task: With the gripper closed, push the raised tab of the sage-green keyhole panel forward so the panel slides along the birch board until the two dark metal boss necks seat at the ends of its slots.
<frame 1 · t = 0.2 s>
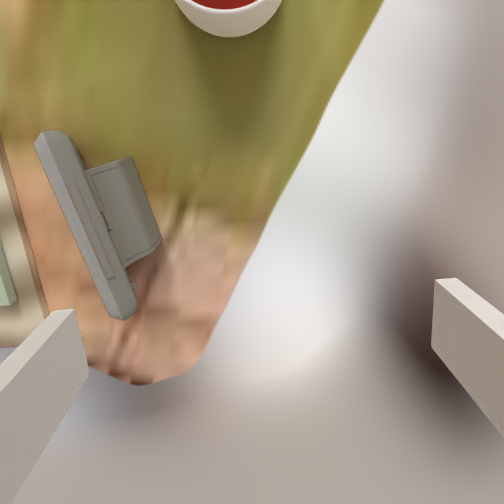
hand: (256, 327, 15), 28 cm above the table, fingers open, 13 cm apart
digital clock: (109, 209, 43), on the table
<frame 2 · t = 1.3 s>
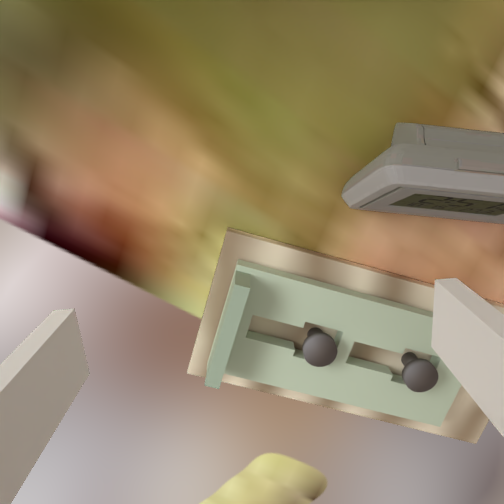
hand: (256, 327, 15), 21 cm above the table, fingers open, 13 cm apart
board: (359, 340, 39), on the table
panel: (347, 356, 35), point 4 cm above the table, slide at 0.0 cm
digital clock: (436, 180, 35), on the table
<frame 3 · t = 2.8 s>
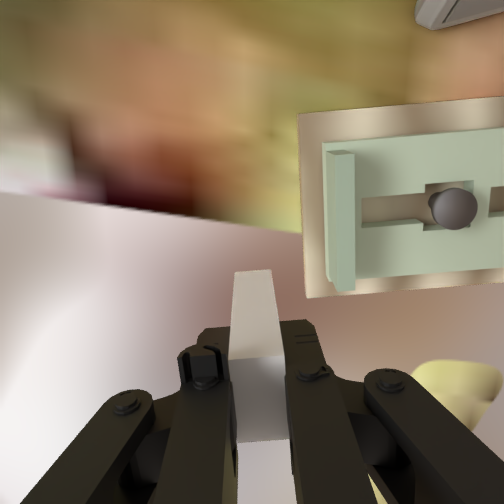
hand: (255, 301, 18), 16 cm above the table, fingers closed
board: (489, 193, 32), on the table
panel: (490, 205, 29), point 4 cm above the table, slide at 0.0 cm
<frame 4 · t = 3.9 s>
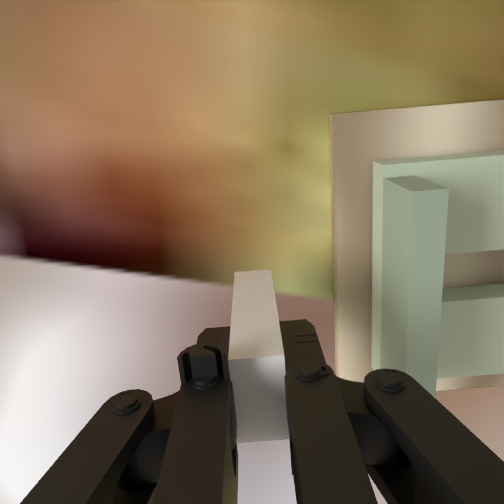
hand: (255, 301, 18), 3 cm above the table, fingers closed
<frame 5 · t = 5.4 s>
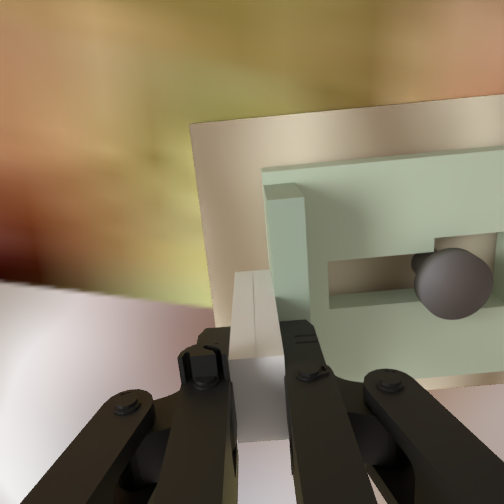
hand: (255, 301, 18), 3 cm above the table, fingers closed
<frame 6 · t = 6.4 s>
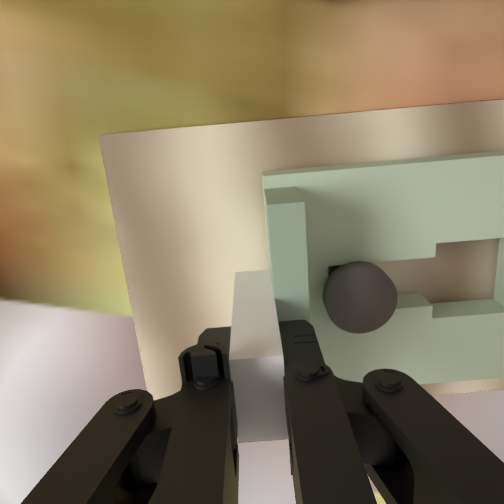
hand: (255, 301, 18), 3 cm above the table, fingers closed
board: (432, 257, 20), on the table
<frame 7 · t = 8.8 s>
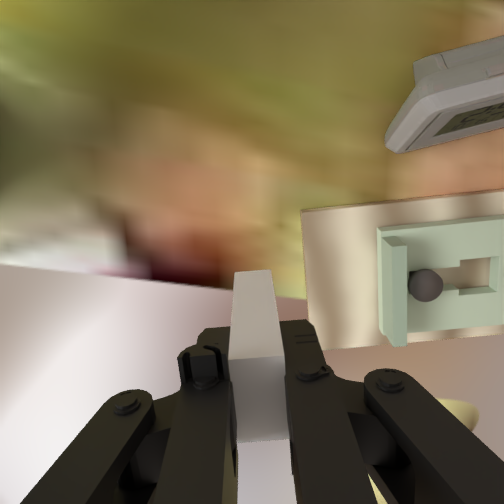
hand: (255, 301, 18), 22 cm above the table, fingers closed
board: (457, 266, 40), on the table
digital clock: (469, 99, 36), on the table
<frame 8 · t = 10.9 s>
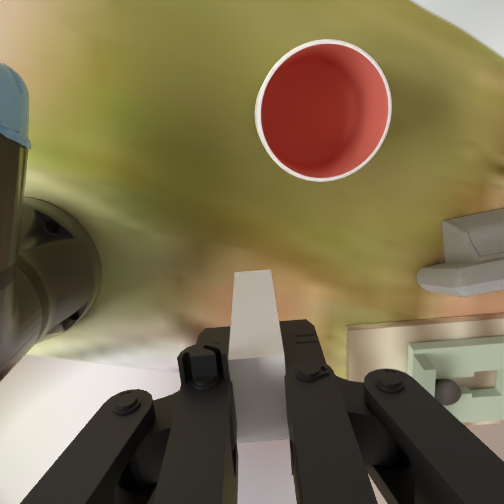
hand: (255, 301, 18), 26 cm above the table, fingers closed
cup: (306, 114, 41), on the table
board: (470, 369, 50), on the table
digital clock: (484, 247, 45), on the table
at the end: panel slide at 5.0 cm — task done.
